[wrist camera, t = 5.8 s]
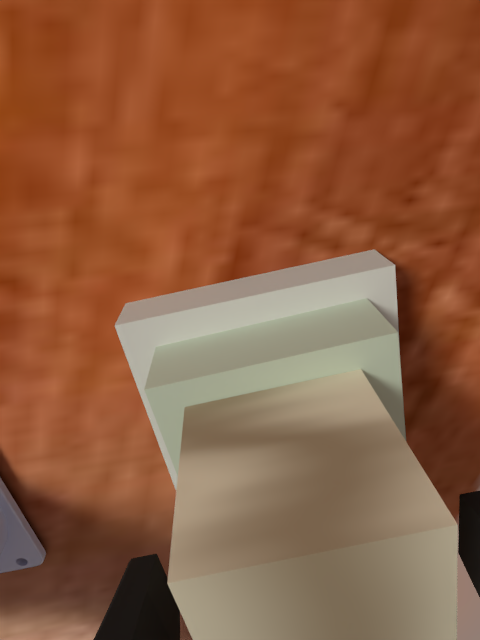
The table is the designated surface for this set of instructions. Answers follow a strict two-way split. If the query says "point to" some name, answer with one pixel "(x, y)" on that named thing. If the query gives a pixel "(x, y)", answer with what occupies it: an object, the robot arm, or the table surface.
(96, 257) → the table surface
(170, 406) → the tower top
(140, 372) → the tower base
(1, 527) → the robot arm
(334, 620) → the maple cube
